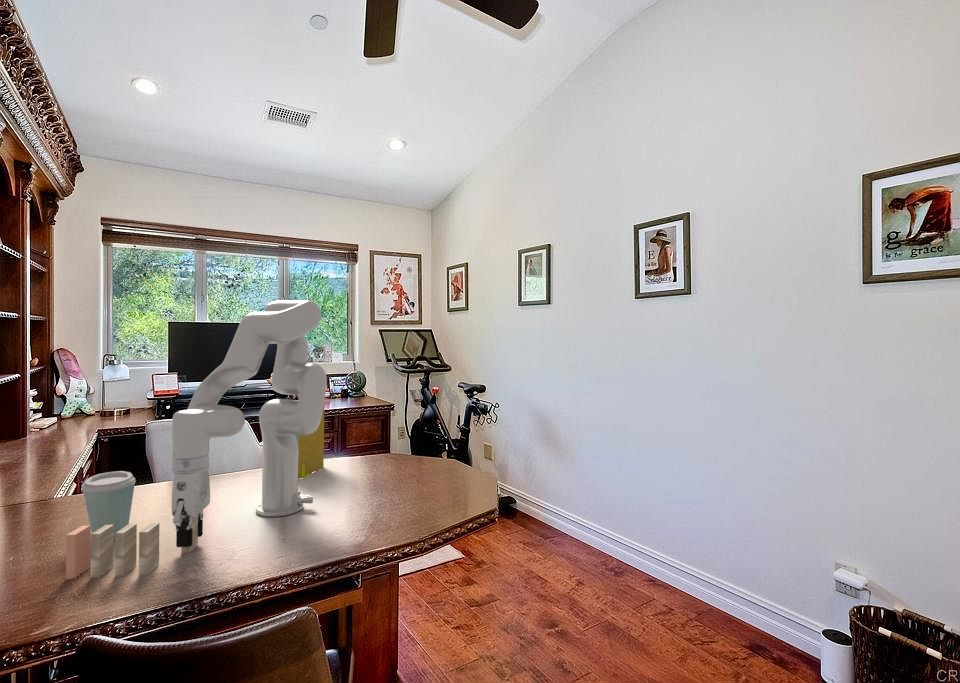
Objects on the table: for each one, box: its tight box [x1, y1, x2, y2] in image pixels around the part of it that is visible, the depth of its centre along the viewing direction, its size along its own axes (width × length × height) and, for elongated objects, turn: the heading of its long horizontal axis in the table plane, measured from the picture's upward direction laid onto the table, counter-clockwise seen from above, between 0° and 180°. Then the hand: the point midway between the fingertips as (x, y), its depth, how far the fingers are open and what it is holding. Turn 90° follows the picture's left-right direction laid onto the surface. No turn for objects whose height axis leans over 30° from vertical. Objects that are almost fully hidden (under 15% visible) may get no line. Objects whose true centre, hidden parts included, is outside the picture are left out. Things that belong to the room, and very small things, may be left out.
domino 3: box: [114, 523, 138, 578], centre depth 104 cm, size 2×5×9 cm, turn 8°
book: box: [294, 405, 325, 479], centre depth 181 cm, size 17×7×25 cm, turn 168°
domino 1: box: [65, 525, 92, 580], centre depth 103 cm, size 2×5×9 cm, turn 9°
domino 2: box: [89, 525, 115, 579], centre depth 103 cm, size 2×5×9 cm, turn 9°
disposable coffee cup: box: [81, 470, 137, 541], centre depth 121 cm, size 11×11×15 cm
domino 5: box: [180, 513, 199, 555], centre depth 115 cm, size 2×5×9 cm, turn 8°
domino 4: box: [138, 522, 160, 577], centre depth 105 cm, size 2×5×9 cm, turn 8°
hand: (189, 540), depth 115 cm, fingers closed on domino 5, 4 cm apart
